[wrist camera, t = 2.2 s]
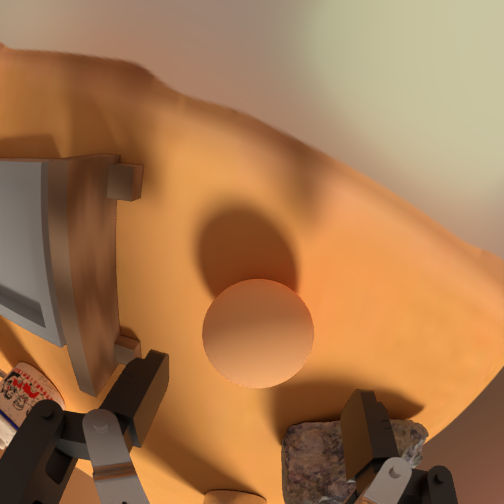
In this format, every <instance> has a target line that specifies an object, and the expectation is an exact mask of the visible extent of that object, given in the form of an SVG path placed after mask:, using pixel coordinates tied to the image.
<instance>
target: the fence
mask: <svg viewBox="0 0 504 504" xmlns="http://www.w3.org/2000/svg"><path fill="white" fill-rule="evenodd" d="M143 166H144V165H135V164H125V163H120V155H112V154H94V155H85V156H76V157H68V158H60V159H53V160H49V164H48V226H49V241H50V253H51V262H52V271H53V278H54V285H55V292H56V298H57V303H58V309H59V314H60V318H61V323H62V328H63V332H64V336H65V340H66V344H67V348H68V352H69V356H70V359H71V363H72V366H73V369H74V373H75V376H76V379H77V382H78V385H79V388H80V390H81V391H83V392H85V393H87V394H90V395H92V396H94V397H97V396H98V394H99V393H100V391H101V390H102V388H103V387H104V385H105V384H106V382H107V381H108V379H109V378H110V376H111V375H112V373H113V372H114V370H115V369H116V368H117V366H118V365H119V363H120V364H123V365H127V364H128V363H129V362H131V361H132V360H134V359H135V358H137V357H138V358H141V349H140V341H138V340H134V339H131V338H128V337H125V336H122V335H121V334H120V325H119V313H118V300H117V282H116V206H117V199H118V200H125V201H134V200H136V199H139V198H141V187H142V176H143Z"/></svg>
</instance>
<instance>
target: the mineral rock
mask: <svg viewBox="0 0 504 504" xmlns="http://www.w3.org/2000/svg"><path fill="white" fill-rule="evenodd" d="M390 422H391V425H392V429H393V433H394V437H395V441H396V445H397V449H398V453H399V456H400V458H402V459H404V460H406V461H407V462H408V463H409V465H410V467H411V468H414V467H416V466H417V465H418V464H419V463H420V462H421V461H422V459H423V454H422V444H423V443H424V442H425V440H426V437H428V436H429V435H428V432H427V430H426V428H425V427H424V426H423V425H421V424H419V423H414V422H413V421H412V420H399V419H393V420H391V419H390ZM281 461H282V491H283V498H284V502H285V504H343V502H344V501H345V500H346V498H347V497H348V496H349V495H350V493H351V492H352V491H353V489H354V488H355V487H356V482H347V481H346V470H345V460H344V451H343V442H342V434H341V426H340V421H332V422H314V423H309V422H305V423H301V424H299V425H296V426H295V425H292V426H291V427H289V428H288V430H287V433H286V435H285V437H284V438H283V440H282V450H281Z"/></svg>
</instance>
